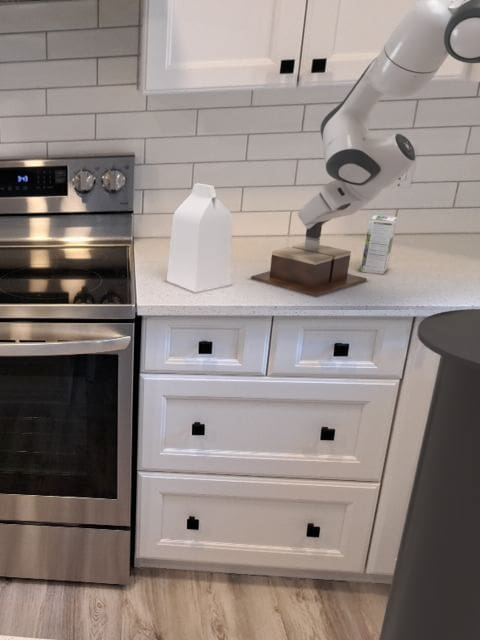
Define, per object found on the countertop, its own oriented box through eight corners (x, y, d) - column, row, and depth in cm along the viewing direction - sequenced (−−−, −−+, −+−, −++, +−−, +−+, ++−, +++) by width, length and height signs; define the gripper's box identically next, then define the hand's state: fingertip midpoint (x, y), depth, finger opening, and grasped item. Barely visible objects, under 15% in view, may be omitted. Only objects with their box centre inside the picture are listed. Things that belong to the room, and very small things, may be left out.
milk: (166, 281, 188) (170, 184, 177) (200, 274, 192) (206, 179, 182) (195, 293, 178) (201, 191, 167) (230, 285, 182) (238, 185, 171)
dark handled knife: (318, 267, 180) (326, 209, 174) (313, 268, 179) (320, 211, 173) (305, 263, 183) (312, 207, 177) (299, 265, 182) (306, 209, 176)
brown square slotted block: (366, 281, 179) (371, 251, 176) (315, 297, 170) (320, 266, 167) (299, 266, 195) (303, 238, 192) (250, 279, 186) (253, 250, 183)
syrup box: (364, 266, 191) (372, 214, 185) (388, 269, 187) (397, 216, 182) (360, 272, 187) (368, 218, 181) (384, 275, 183) (393, 220, 177)
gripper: (372, 175, 171) (331, 209, 183) (318, 186, 162) (279, 221, 173) (386, 195, 169) (344, 229, 181) (333, 208, 160) (292, 242, 171)
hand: (312, 225), depth 177 cm, fingers closed on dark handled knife, 2 cm apart
